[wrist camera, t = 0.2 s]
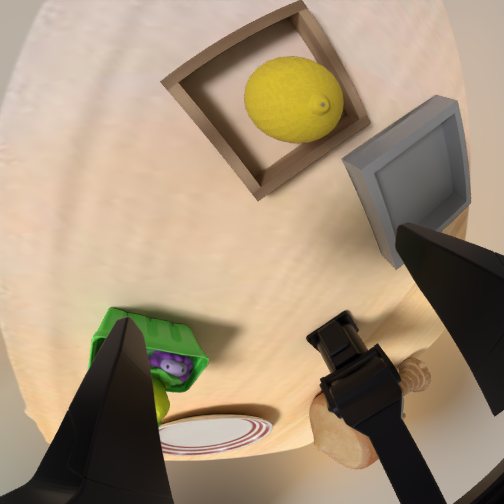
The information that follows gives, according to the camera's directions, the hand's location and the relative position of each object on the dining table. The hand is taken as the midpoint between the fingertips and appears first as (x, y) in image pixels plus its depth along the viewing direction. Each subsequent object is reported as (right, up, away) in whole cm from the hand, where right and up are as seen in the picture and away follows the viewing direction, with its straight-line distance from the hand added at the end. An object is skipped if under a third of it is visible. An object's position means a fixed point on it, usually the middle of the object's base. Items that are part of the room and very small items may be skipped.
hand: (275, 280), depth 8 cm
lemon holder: (+1, +12, +10) cm, 16 cm away
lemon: (+1, +12, +10) cm, 16 cm away
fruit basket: (-13, -8, +20) cm, 25 cm away
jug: (+22, -28, +45) cm, 57 cm away
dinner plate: (-10, -35, +40) cm, 54 cm away
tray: (+16, +9, +17) cm, 25 cm away
